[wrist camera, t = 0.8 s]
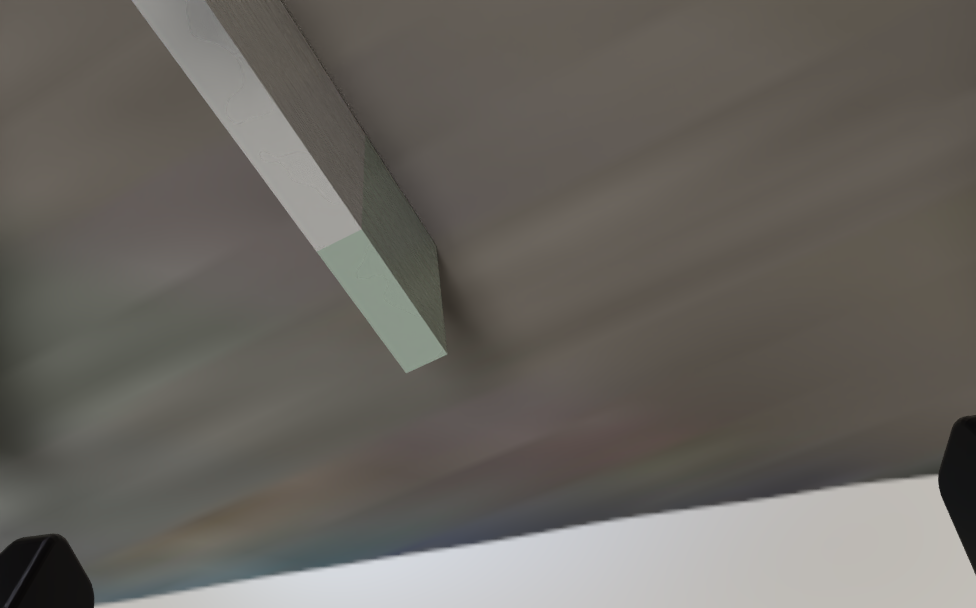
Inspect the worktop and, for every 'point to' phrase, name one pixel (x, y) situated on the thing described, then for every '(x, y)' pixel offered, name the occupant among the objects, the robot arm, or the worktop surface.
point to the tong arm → (312, 160)
